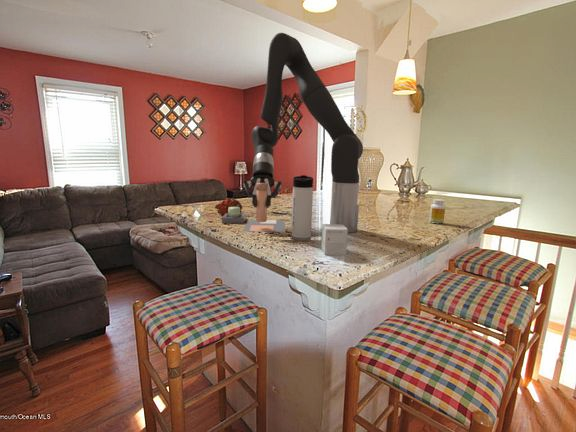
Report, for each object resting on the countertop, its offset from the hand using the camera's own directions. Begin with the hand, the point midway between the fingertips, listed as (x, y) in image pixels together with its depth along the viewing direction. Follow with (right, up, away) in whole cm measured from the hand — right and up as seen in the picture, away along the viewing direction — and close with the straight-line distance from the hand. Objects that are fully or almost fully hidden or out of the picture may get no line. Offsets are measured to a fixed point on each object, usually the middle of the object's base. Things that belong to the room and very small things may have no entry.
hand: (261, 206), depth 104 cm
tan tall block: (0, -5, +3) cm, 6 cm away
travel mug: (+13, -11, -4) cm, 18 cm away
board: (+1, -8, +8) cm, 11 cm away
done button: (-12, -4, +14) cm, 18 cm away
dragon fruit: (-16, -4, +27) cm, 31 cm away
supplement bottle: (+70, -6, +24) cm, 74 cm away
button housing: (-12, -6, +14) cm, 19 cm away
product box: (+22, -14, -17) cm, 31 cm away
